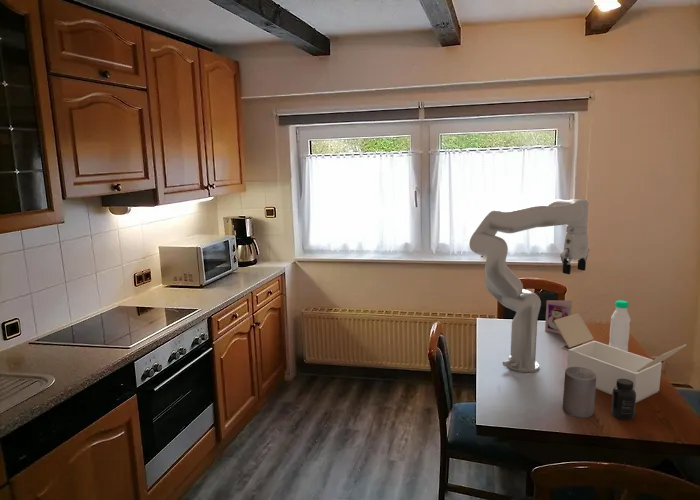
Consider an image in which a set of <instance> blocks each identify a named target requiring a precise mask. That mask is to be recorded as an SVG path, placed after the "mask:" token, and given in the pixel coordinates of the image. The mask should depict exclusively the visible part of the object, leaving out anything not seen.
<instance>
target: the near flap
mask: <svg viewBox="0 0 700 500" xmlns="http://www.w3.org/2000/svg"><path fill="white" fill-rule="evenodd" d="M687 346H688V345H687V343H685V344H682V345H680V346H677V347H676V348H673V349H671V350H668V351H667V352H664V353H662V354H660V355H659V356H657V357H655V358H654V359H652V360H653V361H651V362H650V363H648V364H647V365H645V366H644V367H642V368H641V369H639V370H638V371H637V372H640V371H642V370H644V369H646V368H649V367H651V366H653V365H655V364H657V363H660V362H661V363H662V362H664V361H666V359H668V358H669V357H671V356H673V355H674V354H676V353H677V352H679V351H680V350H682V349H683V348H685V347H687Z"/></svg>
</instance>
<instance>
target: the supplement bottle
mask: <svg viewBox="0 0 700 500" xmlns="http://www.w3.org/2000/svg"><path fill="white" fill-rule="evenodd" d="M611 396H612V397H611V409H610V412H611V414H612V416H613V417H615V418H616V419H618V420H622V419H623V420H624V421H631V420H633V419H634V418H635V415H636V404H637V403H636V392H635V390H634V389H633V381H631V380H629V379H624V378H621V379H618V380H617V384H616V387H614V389H613V394H612V395H611Z"/></svg>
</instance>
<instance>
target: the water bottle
mask: <svg viewBox="0 0 700 500" xmlns="http://www.w3.org/2000/svg"><path fill="white" fill-rule="evenodd" d="M629 306H630V305H629V302H628V301H627V300H622V299H621V300H616V301H615V305H614V307H615V310H614V311H613V313H612V315H611V317H610V325H609V326H610V327H609V328H610V329H609V343H608V345H609V346H612V347H615V348H618V349H621V350H624V351H627V352H629V340H630V332H631V331H630V330H631V329H630V327H631V326H630V323H631V316H630V314H629V311H628V309H629Z"/></svg>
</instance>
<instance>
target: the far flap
mask: <svg viewBox="0 0 700 500" xmlns="http://www.w3.org/2000/svg"><path fill="white" fill-rule="evenodd" d="M554 322H555V324H556V326H557V328H558V329H559V331H560V333H561V334H560V335H561V336H562V338H563V340H564V341H565V343H566V345H568V347H569V348H570V347H573V346H576V345H578V344H581V343H583V344H585V343H588V342H591V341H593V340H594V336H593V335H592V333H591V331H590V330H589V328H588V326H587V325H586V323H585V321H584V319H583V318H582V316H581V315H580V313H579V312H576V313H574V314H573V313H571V315H569V316H566V317H563V318H559V319H556V320H554Z"/></svg>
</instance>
